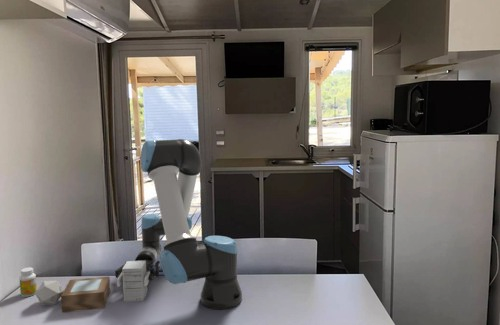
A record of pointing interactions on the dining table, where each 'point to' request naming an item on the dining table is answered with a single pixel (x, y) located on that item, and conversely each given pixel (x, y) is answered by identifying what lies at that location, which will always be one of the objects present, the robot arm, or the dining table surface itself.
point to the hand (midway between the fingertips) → (131, 282)
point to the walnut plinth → (85, 294)
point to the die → (49, 292)
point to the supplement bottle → (27, 282)
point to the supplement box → (134, 280)
